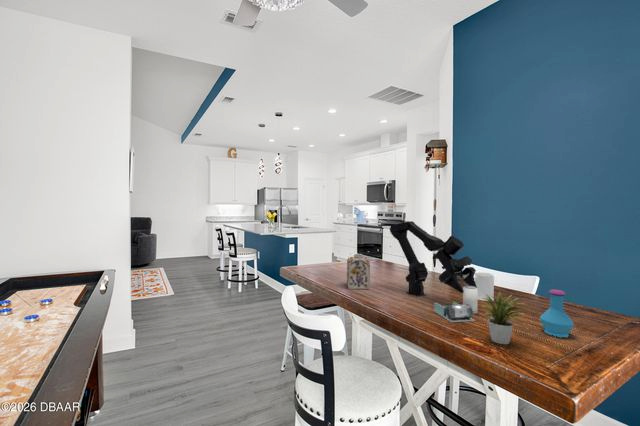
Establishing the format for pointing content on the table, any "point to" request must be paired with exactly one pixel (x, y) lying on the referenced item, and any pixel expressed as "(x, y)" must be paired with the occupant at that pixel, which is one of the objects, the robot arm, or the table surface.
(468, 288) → the white cylinder
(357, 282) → the decorative jar
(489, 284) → the mug
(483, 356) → the table surface
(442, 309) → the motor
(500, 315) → the house plant
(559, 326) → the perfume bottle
